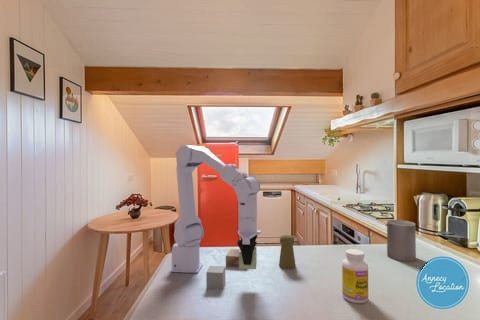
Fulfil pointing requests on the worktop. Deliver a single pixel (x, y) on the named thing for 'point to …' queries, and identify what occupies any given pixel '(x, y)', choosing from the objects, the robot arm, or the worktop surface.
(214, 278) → the grey cube
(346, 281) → the supplement bottle
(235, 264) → the walnut block
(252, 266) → the green cube
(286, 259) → the cork
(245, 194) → the robot arm
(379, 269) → the worktop surface
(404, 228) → the pillar candle
